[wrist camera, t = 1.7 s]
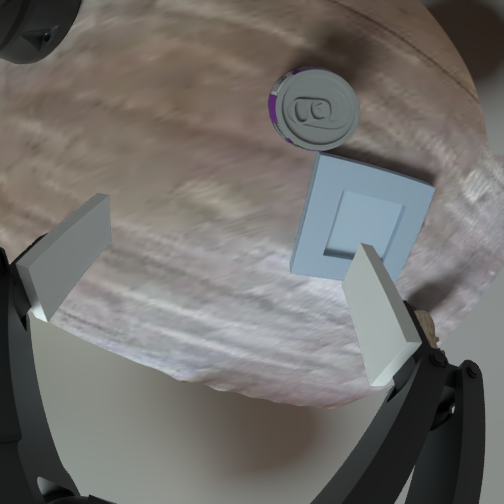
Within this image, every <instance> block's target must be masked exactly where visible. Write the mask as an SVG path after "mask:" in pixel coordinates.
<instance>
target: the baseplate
mask: <svg viewBox="0 0 504 504" xmlns="http://www.w3.org/2000/svg"><path fill="white" fill-rule="evenodd" d="M434 191H435V187H433V186H432V185H431V184H429V183H428V182H425V181H423V180H420V179H417V178H414V177H411V176H408V175H405V174H402V173H399V172H395V171H392V170H389V169H386V168H382V167H379V166H375V165H372V164H368V163H365V162H361V161H357V160H354V159H350V158H346V157H342V156H338V155H334V154H329V153H325V152H321V151H317V155H316V159H315V163H314V168H313V172H312V176H311V181H310V185H309V189H308V193H307V197H306V202H305V206H304V210H303V214H302V218H301V222H300V226H299V230H298V234H297V237H296V241H295V245H294V249H293V253H292V257H291V260H290V273H291V274H298V275H305V276H312V277H319V278H326V279H333V280H341V281H344V278H345V276H346V274H347V272H348V270H349V267H350V265H351V263H352V261H353V258H354V256H355V254H356V251H357V249H358V247H359V244H360V243H364V244H368V245H372V246H373V247H374V249H375V250H376V252H377V254H378V256H379V257H380V259H381V261H382V263H383V265H384V266H385V268H386V270H387V272H388V274H389V276H390V277H391V279H392V281H393V283H394V284H395V282H396V280H397V278H398V276H399V274H400V272H401V270H402V268H403V266H404V264H405V262H406V260H407V258H408V256H409V253H410V251H411V249H412V247H413V244H414V242H415V240H416V237H417V235H418V233H419V230H420V228H421V225H422V223H423V221H424V218H425V215H426V213H427V210H428V208H429V205H430V202H431V199H432V197H433V194H434Z"/></svg>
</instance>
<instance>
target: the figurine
mask: <svg viewBox="0 0 504 504" xmlns="http://www.w3.org/2000/svg"><path fill="white" fill-rule="evenodd" d="M413 310H414V312H415V314H416V316H417V319H418V320H419V322H420V325H421V326H422V328H423V331H424V333H425V335H426V337H427V339H428V341H429V344H430V346H431V348H436V349H438V350H440V348H438V347H437V344H436V342H438V341H439V338H438V337H435V326H434V322H433V319H432V318H431V316H430V315H429V313H427V312H426V311H423V310H418V311H416V309H415V308H414V307H413ZM440 351H441V350H440ZM441 352H442V353H443V354H444V355H445V352H444V351H443V350H442V351H441Z"/></svg>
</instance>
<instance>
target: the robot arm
mask: <svg viewBox="0 0 504 504" xmlns="http://www.w3.org/2000/svg"><path fill="white" fill-rule="evenodd" d="M79 4H80V0H0V58H2V59H5V60H7V61H10V62H12V63H15V64H31V63H35V62H38V61H40V60H41V59H43V58H45V57H46V56H47V55H49V54H50V53H51V52H52V51H53V50H54V49H55V48H56V47H57V46H58V45H59V43H60V42H61V41H62V39H63V38H64V37H65V35H66V34H67V32H68V30H69V29H70V27H71V25H72V23H73V21H74V19H75V17H76V14H77V11H78V8H79ZM111 241H112V234H111V219H110V195H106V194H100V193H97V194H96V195H95V196H93V197H92V198H91V199H89V200H88V201H87V202H85V203H84V204H83V205H82V206H80V207H79V208H78V209H76V210H75V211H74V212H73V213H71V214H70V215H69V216H68V217H67V218H65V219H64V220H63V221H62V222H60V223H59V224H58V225H57V226H56V227H55V228H53V229H52V230H51V231H50V232H49V233H46V234H44V235H42V236H41V237H39V238H38V239H36V240H35V241H34V242H33V243H32V245H30V246H29V247H28V248H27V250H24V251H23V252H22V253H21V254H20V255H19V256H18V257H17V258H16V259H15V260H14V261H13V262H12V263H11V264H10V265H9V262H8V259H7V256H6V253H5V250H4V249H3V248H1V247H0V504H116V503H113V502H109V501H106V500H104V499H101V498H98V497H95V496H92V495H89V497H84V496H80V493H79V491H78V489H77V487H76V485H75V483H74V481H73V480H72V478H71V476H70V475H69V474H68V473H67V471H66V470H65V468H64V467H63V465H62V463H61V461H60V458H59V456H58V453H57V451H56V447H55V445H54V442H53V439H52V435H51V432H50V429H49V426H48V423H47V419H46V415H45V412H44V407H43V404H42V399H41V395H40V391H39V386H38V381H37V375H36V370H35V364H34V357H33V350H32V341H31V332H30V320H29V316H28V314H27V312H28V310H29V309H30V308H32V310H33V313H34V315H35V317H36V318H39V319H41V320H43V321H46V322H49V320H50V319H51V317H52V316H53V315H54V313H55V312H56V310H57V309H58V308H59V306H60V305H61V303H62V302H63V301H64V299H65V298H66V297H67V295H68V294H69V293H70V291H71V290H72V289H73V287H74V286H75V285H76V283H77V282H78V281H79V280H80V278H81V277H82V276H83V274H84V273H85V272H86V271H87V269H88V268H89V267H90V266H91V265H92V263H93V262H94V261H95V260H96V258H97V257H98V256H99V255H100V254H101V253H102V251H103V250H104V249H105V248H106V247H107V246H108V244H109V243H110V242H111ZM342 287H343V290H344V293H345V296H346V300H347V303H348V306H349V310H350V313H351V316H352V320H353V323H354V327H355V330H356V334H357V338H358V341H359V345H360V349H361V353H362V357H363V361H364V365H365V369H366V373H367V377H368V381H369V385H370V386H385V385H386V384H387V383H388V382H389V381H390V380H391V379H392V378H393V380H394V383H395V385H394V386H393V387H392V388H391V389H390V390H389V391H388V392H387V393H386V394H385V395H384V396H383V397H382V398H381V399H382V400H383V399H384V398H385V397H386V398H385V400H384V402H383V404H382V406H381V407H380V409H379V411H378V413H377V414H376V416H375V417H374V419H373V421H372V422H371V424H370V425H369V427H368V429H367V430H366V432H365V433H364V435H363V436H362V438H361V439H360V441H359V442H358V444H357V445H356V447H355V448H354V450H353V451H352V452H351V454H350V455H349V457H348V458H347V459H346V461H345V462H344V463H343V465H342V466H341V467H340V469H339V470H338V471H337V473H336V474H335V475H334V476H333V478H332V479H331V480H330V481H329V483H328V484H327V485H326V486H325V487H324V489H323V490H322V491H321V492H320V493H319V494H318V496H317V497H316V498H315V499H314V500H313V501H312V502H311V503H310V504H394V503H395V501H396V499H397V498H398V496H399V494H400V492H401V491H402V489H403V487H404V485H405V483H406V481H407V480H408V478H409V476H410V474H411V472H412V470H413V468H414V465H415V468H414V472H413V476H412V480H411V484H410V487H409V491H408V494H407V498H406V501H405V504H479V499H480V493H481V486H482V478H483V469H484V455H485V403H484V388H483V379H482V373H481V370H480V369H479V366H478V365H477V364H476V363H474V362H473V361H471V360H465V361H464V362H463V363H462V364H461V365H460V366H459V367H457V366H454V365H451V364H449V363H448V360H447V358H446V356H445V355H444V354H443V353H442V352H441V351H440V350H438V349H436V348H431V346H430V344H429V341H428V339H427V337H426V335H425V333H424V331H423V328H422V326H421V325H420V322H419V320H418V319H417V316H416V314H415V312H414V310H413V308H412V307H411V306H410V305H409V304H408V303H407V302H406V301H404V300H402V299H401V297H400V295H399V293H398V291H397V289H396V287H395V285H394V283H393V281H392V279H391V277H390V276H389V274H388V272H387V270H386V268H385V266H384V265H383V263H382V261H381V259H380V257H379V256H378V254H377V252H376V250H375V249H374V247H373V246H372V245H368V244H364V243H360V244H359V247H358V249H357V251H356V254H355V256H354V258H353V261H352V263H351V265H350V267H349V270H348V272H347V274H346V276H345V278H344V281H343V283H342ZM454 406H455V410H454V413H452V408H453V407H454ZM415 463H416V464H415Z"/></svg>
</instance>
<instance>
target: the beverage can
mask: <svg viewBox="0 0 504 504" xmlns="http://www.w3.org/2000/svg"><path fill="white" fill-rule="evenodd" d="M268 108H269V114H270V118H271V121H272V123H273V125H274V127H275V129H276V131H277V132H278V133H279V135H280V136H281V137H282V138H283V139H284V140H286V141H287V142H288V143H290V144H291V145H293V146H295V147H297V148H300V149H303V150H307V151H325V150H329V149H333V148H336V147H338V146H340V145H342V144H343V143H345V142H346V141H347V140H348V139H349V138H350V137H351V136H352V135H353V133H354V132H355V130H356V128H357V126H358V123H359V118H360V106H359V101H358V98H357V96H356V94H355V92H354V90H353V89H352V87H351V86H350V85H349V84H348V82H347V81H346V80H345V79H344V78H342V77H341V76H340V75H339V74H337V73H335V72H334V71H332V70H329V69H327V68H323V67H319V66H304V67H299V68H296V69H294V70H291V71H290V72H288V73H286V74H285V75H284V76H282V77H281V78H280V79H279V80H278V82H277V83H276V84H275V86H274V87H273V88H272V90H271V92H270V95H269V99H268Z"/></svg>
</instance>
